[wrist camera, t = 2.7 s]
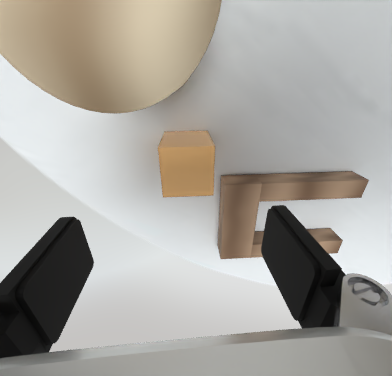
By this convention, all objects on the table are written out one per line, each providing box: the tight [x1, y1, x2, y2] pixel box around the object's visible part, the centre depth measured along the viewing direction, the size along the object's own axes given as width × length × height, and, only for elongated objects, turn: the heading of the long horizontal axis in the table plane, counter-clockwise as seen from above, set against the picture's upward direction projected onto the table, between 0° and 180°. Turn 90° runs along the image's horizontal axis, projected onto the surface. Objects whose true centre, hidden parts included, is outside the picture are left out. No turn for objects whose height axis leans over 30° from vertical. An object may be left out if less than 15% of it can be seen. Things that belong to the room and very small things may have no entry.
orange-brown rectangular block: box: [158, 131, 215, 197], centre depth 19 cm, size 4×4×6 cm
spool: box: [0, 0, 222, 113], centre depth 12 cm, size 9×9×12 cm
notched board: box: [218, 171, 369, 259], centre depth 25 cm, size 16×11×2 cm
